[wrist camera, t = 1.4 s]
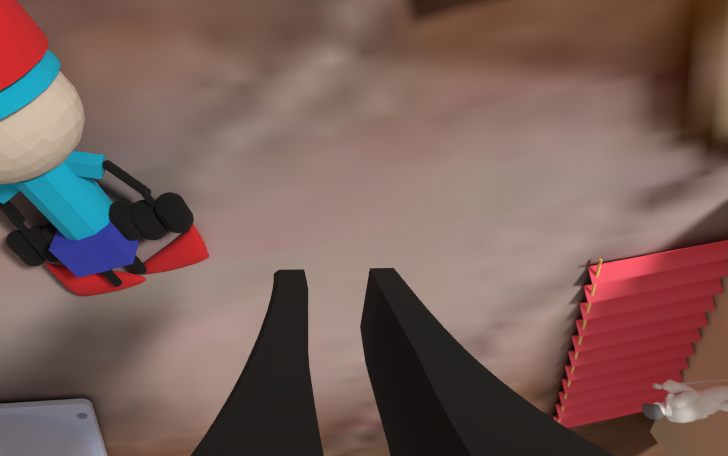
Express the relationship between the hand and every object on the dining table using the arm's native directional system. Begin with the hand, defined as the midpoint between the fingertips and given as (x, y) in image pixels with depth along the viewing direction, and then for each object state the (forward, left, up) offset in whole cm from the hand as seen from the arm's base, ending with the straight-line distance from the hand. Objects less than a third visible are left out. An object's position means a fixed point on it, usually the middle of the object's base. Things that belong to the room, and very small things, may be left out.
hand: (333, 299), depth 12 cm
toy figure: (0, +10, -10) cm, 14 cm away
